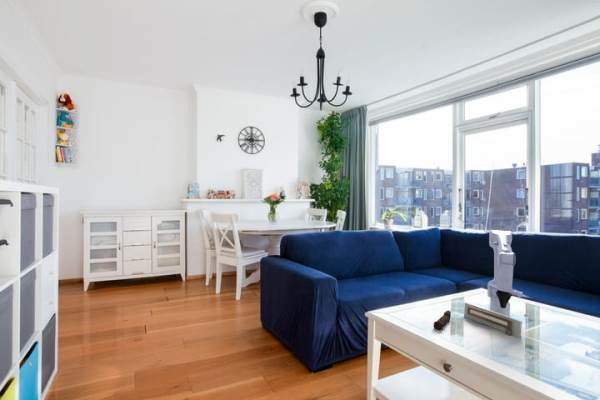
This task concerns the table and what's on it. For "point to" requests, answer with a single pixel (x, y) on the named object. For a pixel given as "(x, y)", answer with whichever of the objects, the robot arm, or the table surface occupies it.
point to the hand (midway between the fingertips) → (503, 307)
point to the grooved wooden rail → (489, 317)
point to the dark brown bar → (442, 321)
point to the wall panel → (514, 330)
